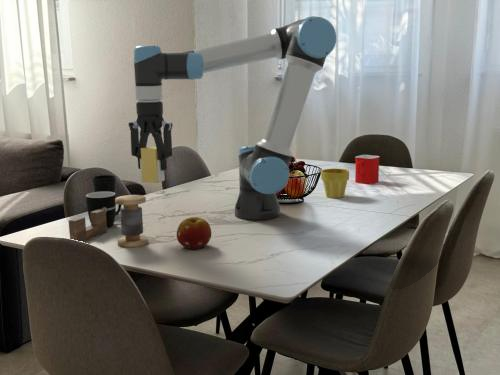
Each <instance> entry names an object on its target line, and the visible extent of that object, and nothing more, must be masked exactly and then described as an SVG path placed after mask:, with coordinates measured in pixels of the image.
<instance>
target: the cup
mask: <svg viewBox="0 0 500 375" xmlns="http://www.w3.org/2000/svg"><path fill="white" fill-rule="evenodd" d="M116 178H117V177H116V176H115V175H113V174H102V175H100V174H99V175H96V176H93V177H92V183H93V189H94V192H114V193H115V194H116Z"/></svg>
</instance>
